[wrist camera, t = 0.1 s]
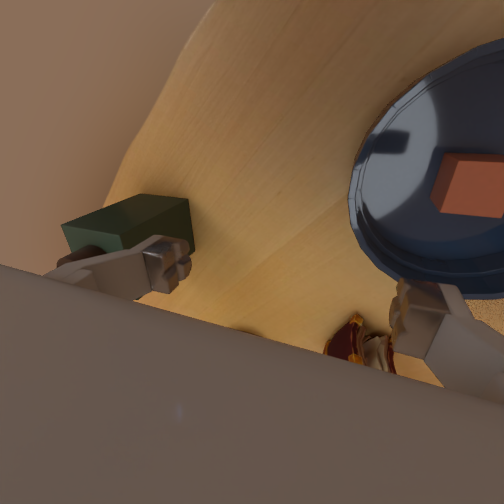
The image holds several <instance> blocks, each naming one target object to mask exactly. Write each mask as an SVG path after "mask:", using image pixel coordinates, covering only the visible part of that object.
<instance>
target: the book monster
mask: <svg viewBox="0 0 504 504" xmlns="http://www.w3.org/2000/svg"><path fill="white" fill-rule="evenodd" d="M363 320H364V319H362V318H361V317H360V316H359V315H357V314H356V315H354V316H353V317H352V318H351V321H349V322H348V323H347V324H346V325H345V326H343V327H342V328H341V329H340V330H339V331H338V332H337V333H336V334H335V336H334V337H333V338H332V340H331V341H329V340H328V341H327V343H326V345H325V348H324V351H323V354H324V355H328V356H332V357H335V358H339V359H342V360H346V361H350V362H353V363H357V364H360V365H364V366H368V367H371V368H375V369H378V370H382V371H385V372H389V373H393V374H396V375H397V373H396V370H395V367H394V362H393V354H394V351H393V348H392V341H391V338H390V339H389V340H388V336H386V335H385V336H383V337H380V338H379V337H378V336H377V337H375V338H373V339H371V340H369V341H367V342H365V341H366V340H367V339H369V338H371V337H370V336H368V337H364V335H365V331H366V328H365V327H364V326H363V325H362V322H363ZM364 342H365V343H364Z"/></svg>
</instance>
